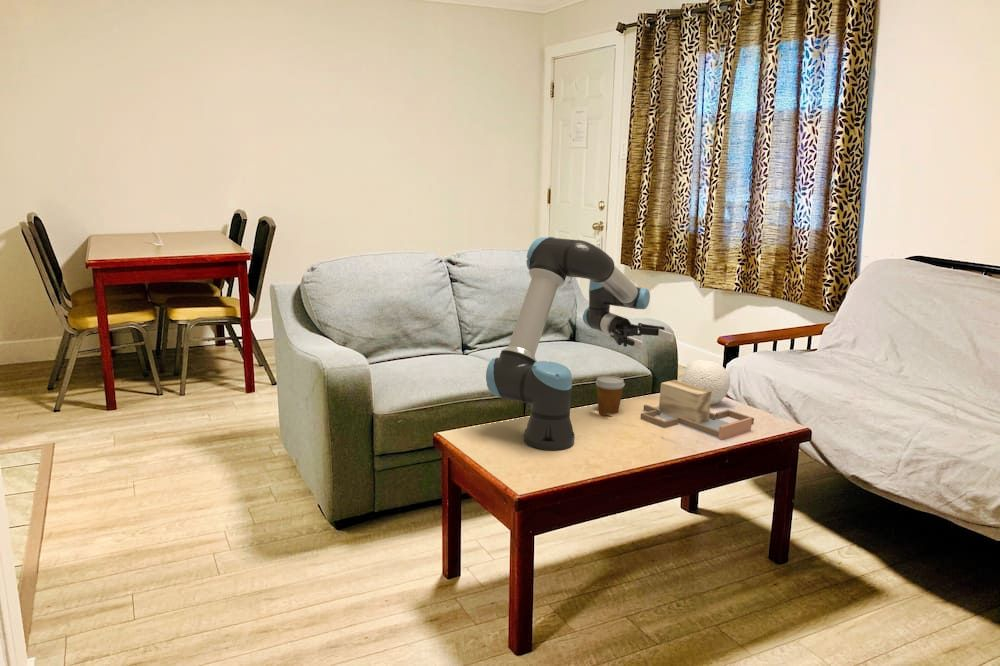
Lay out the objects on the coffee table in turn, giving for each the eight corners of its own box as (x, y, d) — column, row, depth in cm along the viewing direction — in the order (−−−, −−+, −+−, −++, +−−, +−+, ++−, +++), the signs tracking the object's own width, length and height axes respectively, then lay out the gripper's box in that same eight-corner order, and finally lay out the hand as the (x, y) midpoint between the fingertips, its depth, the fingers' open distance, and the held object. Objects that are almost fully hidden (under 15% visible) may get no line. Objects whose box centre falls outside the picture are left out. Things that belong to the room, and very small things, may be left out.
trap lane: (706, 448, 227) (708, 431, 226) (627, 417, 251) (628, 402, 250) (762, 430, 244) (764, 414, 242) (683, 403, 268) (684, 388, 267)
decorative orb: (696, 415, 256) (700, 369, 252) (662, 399, 271) (666, 356, 268) (741, 407, 265) (745, 363, 261) (705, 393, 280) (709, 351, 277)
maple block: (694, 424, 243) (697, 394, 241) (658, 411, 254) (661, 383, 252) (708, 420, 247) (711, 391, 245) (672, 408, 259) (674, 379, 256)
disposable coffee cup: (624, 419, 250) (626, 384, 247) (595, 418, 250) (597, 383, 247) (620, 409, 259) (622, 375, 256) (592, 408, 259) (594, 374, 256)
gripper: (642, 329, 278) (684, 345, 261) (588, 342, 266) (628, 360, 249) (643, 310, 276) (685, 324, 259) (588, 322, 264) (629, 338, 247)
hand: (657, 341), depth 254 cm, fingers open, 13 cm apart
